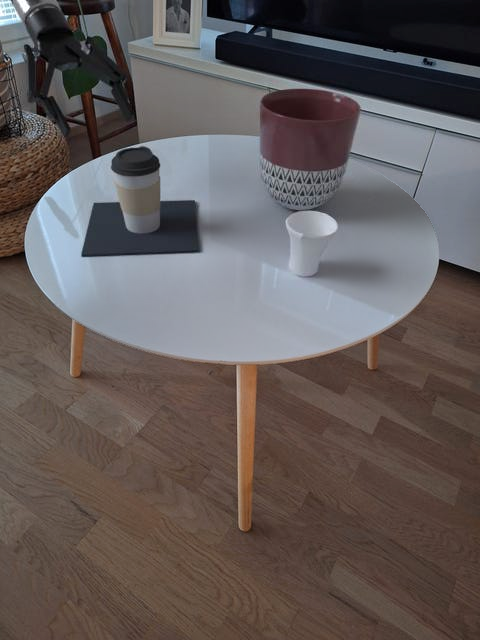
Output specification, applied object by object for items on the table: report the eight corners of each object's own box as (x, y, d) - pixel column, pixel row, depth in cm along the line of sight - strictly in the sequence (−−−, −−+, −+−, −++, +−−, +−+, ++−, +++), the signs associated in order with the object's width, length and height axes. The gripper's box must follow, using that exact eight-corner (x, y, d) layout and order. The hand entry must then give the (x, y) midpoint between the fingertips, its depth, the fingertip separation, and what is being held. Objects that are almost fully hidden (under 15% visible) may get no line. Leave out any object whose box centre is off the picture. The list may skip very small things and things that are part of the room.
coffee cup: (144, 241, 90) (135, 167, 80) (110, 226, 93) (98, 154, 83) (174, 222, 95) (169, 150, 85) (141, 209, 99) (133, 139, 89)
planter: (237, 198, 105) (240, 98, 91) (298, 177, 114) (310, 83, 100) (296, 235, 94) (310, 128, 80) (359, 208, 103) (381, 108, 89)
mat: (81, 256, 86) (81, 254, 86) (94, 204, 101) (93, 202, 100) (199, 252, 89) (199, 250, 88) (195, 202, 103) (194, 200, 103)
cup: (271, 274, 84) (276, 226, 77) (293, 250, 90) (300, 203, 83) (316, 291, 81) (325, 242, 74) (336, 265, 87) (346, 218, 80)
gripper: (98, 27, 96) (147, 121, 98) (-26, 42, 83) (35, 150, 85) (107, -1, 90) (160, 101, 92) (-24, 11, 76) (41, 129, 78)
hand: (100, 125), depth 88 cm, fingers open, 13 cm apart
